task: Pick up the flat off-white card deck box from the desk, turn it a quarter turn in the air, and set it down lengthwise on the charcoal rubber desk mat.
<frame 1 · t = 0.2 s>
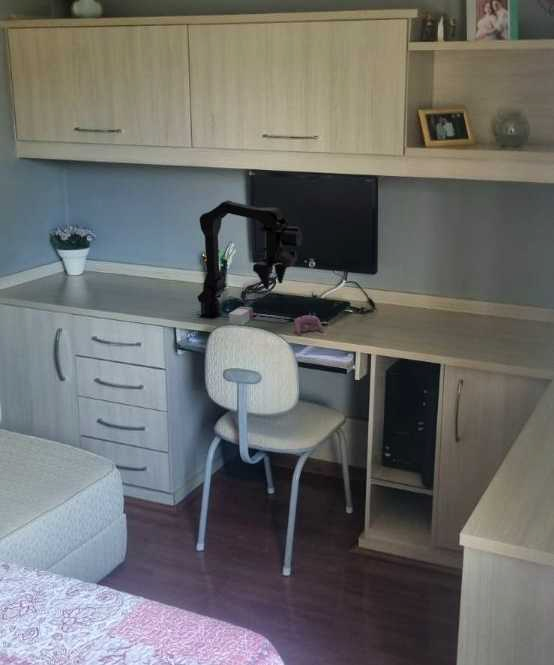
hand: (273, 286, 318), 14 cm above the table, tool pointing down, fingers open, 9 cm apart
card deck box: (241, 321, 326), on the table
desk mat: (274, 317, 329), on the table
video game controller: (308, 332, 313), on the table
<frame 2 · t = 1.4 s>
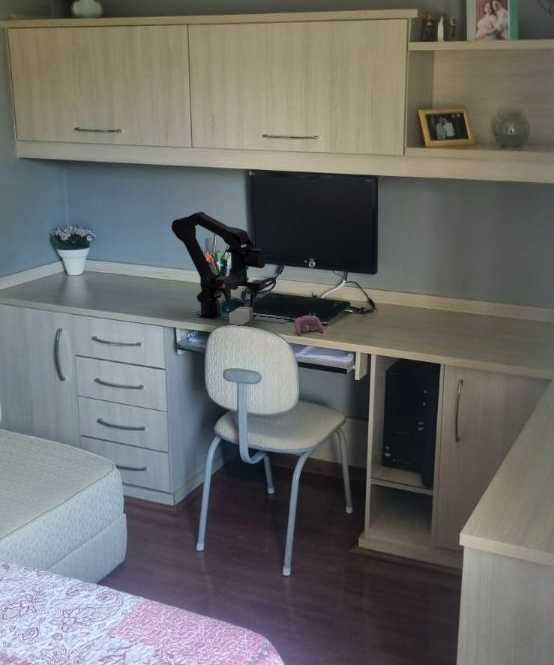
hand: (240, 306, 325), 6 cm above the table, tool pointing down, fingers open, 9 cm apart
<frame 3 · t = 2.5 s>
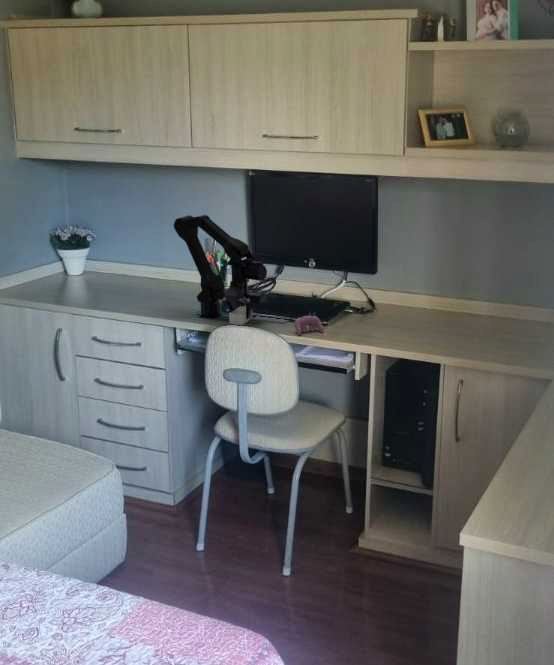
hand: (241, 318, 326), 1 cm above the table, tool pointing down, fingers closed on card deck box, 5 cm apart
card deck box: (241, 320, 326), on the table, touching gripper
everything else where it was.
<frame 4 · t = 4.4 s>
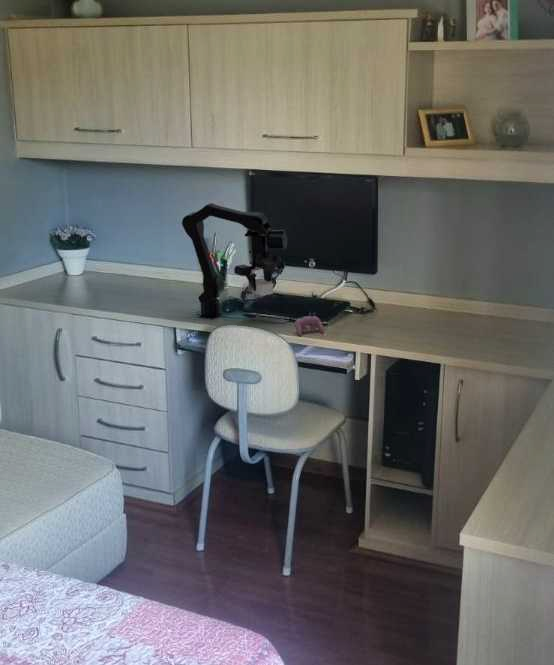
hand: (260, 289, 324), 11 cm above the table, tool pointing down, fingers closed on card deck box, 5 cm apart
card deck box: (260, 292, 324), point 10 cm above the table, touching gripper
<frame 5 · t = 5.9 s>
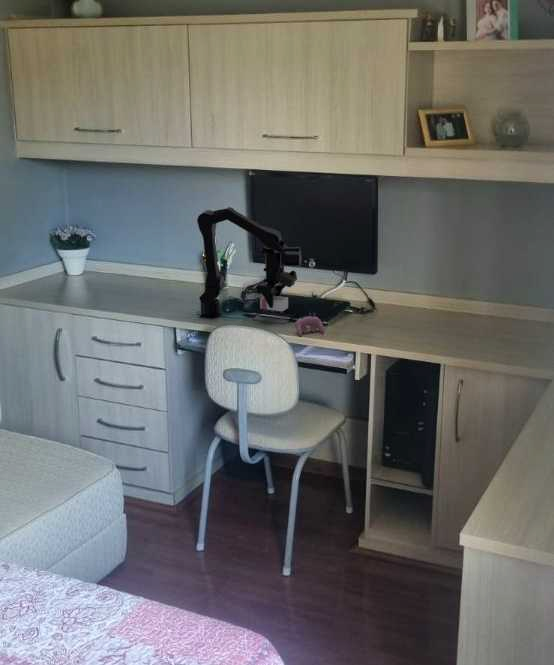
hand: (274, 305, 328), 5 cm above the table, tool pointing down, fingers closed on card deck box, 5 cm apart
card deck box: (274, 308, 328), point 4 cm above the table, touching gripper
when the fingers open (3 cm above the table, at t = 6.7 s): card deck box drops 1 cm, resting on desk mat.
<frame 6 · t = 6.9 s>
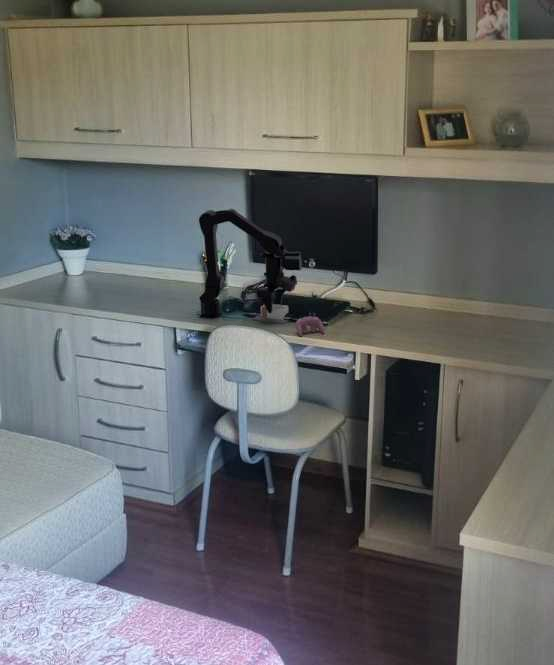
hand: (274, 310, 328), 3 cm above the table, tool pointing down, fingers open, 7 cm apart
card deck box: (274, 316, 329), resting on desk mat
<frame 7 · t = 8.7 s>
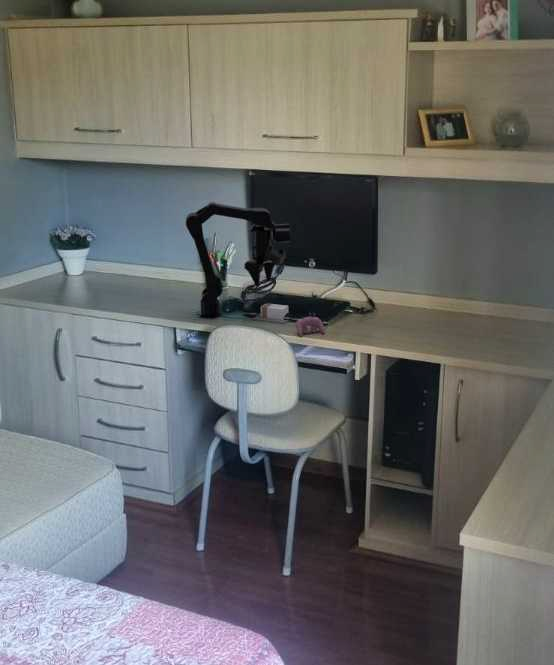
hand: (263, 283, 331), 12 cm above the table, tool pointing down, fingers open, 9 cm apart
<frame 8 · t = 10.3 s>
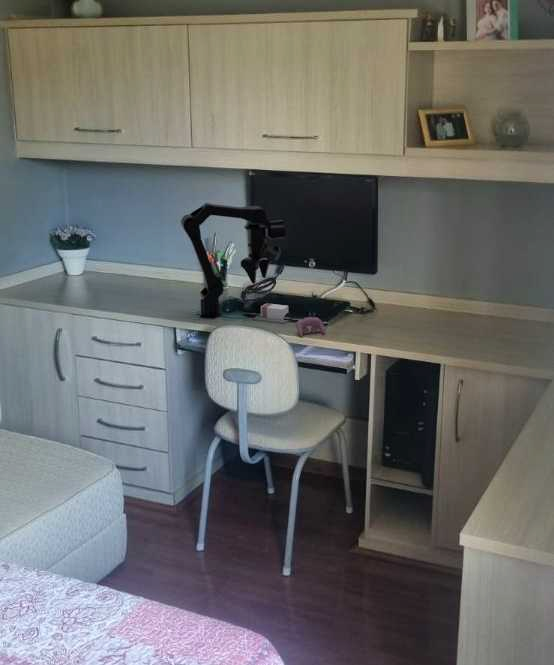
hand: (258, 280, 334), 12 cm above the table, tool pointing down, fingers open, 9 cm apart
at the end: card deck box inside the target area (0.0 cm from its centre), resting on desk mat; card deck box touching desk mat; card deck box tilted 0° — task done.
